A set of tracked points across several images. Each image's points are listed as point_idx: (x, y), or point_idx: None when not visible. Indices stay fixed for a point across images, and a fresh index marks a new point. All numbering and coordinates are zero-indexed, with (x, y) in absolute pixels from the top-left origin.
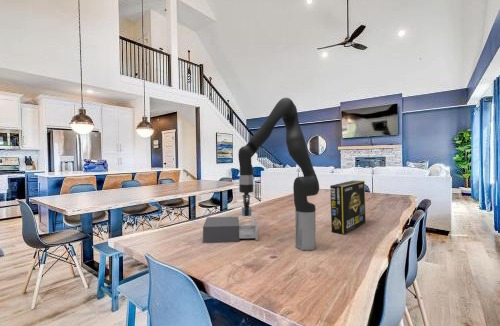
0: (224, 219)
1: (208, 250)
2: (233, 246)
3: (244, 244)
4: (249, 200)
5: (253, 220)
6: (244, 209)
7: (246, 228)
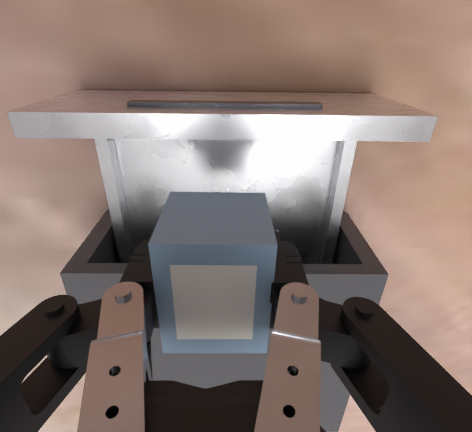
0: (172, 357)
1: (419, 330)
2: (411, 241)
3: (402, 185)
4: (317, 415)
5: (174, 136)
6: (267, 321)
7: (136, 168)
